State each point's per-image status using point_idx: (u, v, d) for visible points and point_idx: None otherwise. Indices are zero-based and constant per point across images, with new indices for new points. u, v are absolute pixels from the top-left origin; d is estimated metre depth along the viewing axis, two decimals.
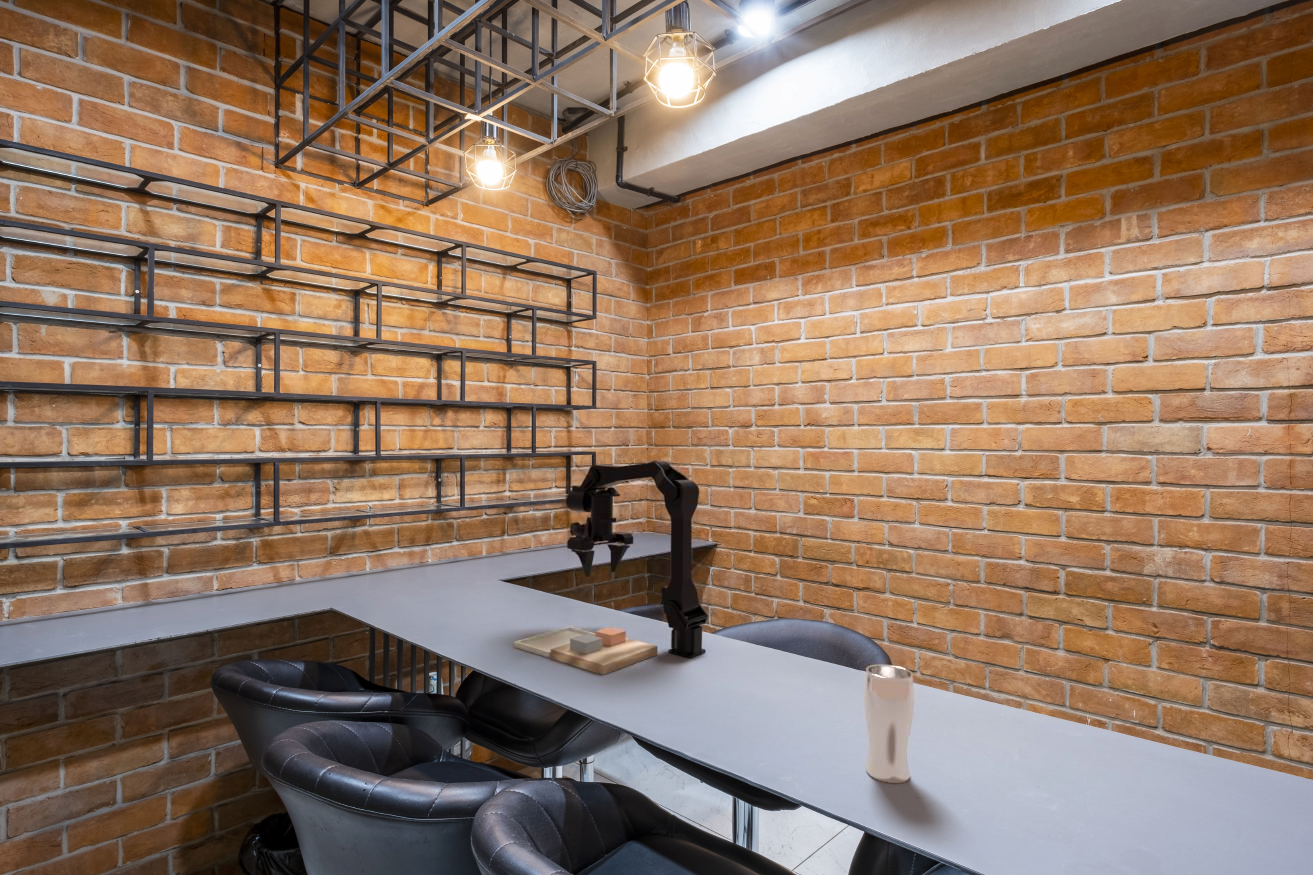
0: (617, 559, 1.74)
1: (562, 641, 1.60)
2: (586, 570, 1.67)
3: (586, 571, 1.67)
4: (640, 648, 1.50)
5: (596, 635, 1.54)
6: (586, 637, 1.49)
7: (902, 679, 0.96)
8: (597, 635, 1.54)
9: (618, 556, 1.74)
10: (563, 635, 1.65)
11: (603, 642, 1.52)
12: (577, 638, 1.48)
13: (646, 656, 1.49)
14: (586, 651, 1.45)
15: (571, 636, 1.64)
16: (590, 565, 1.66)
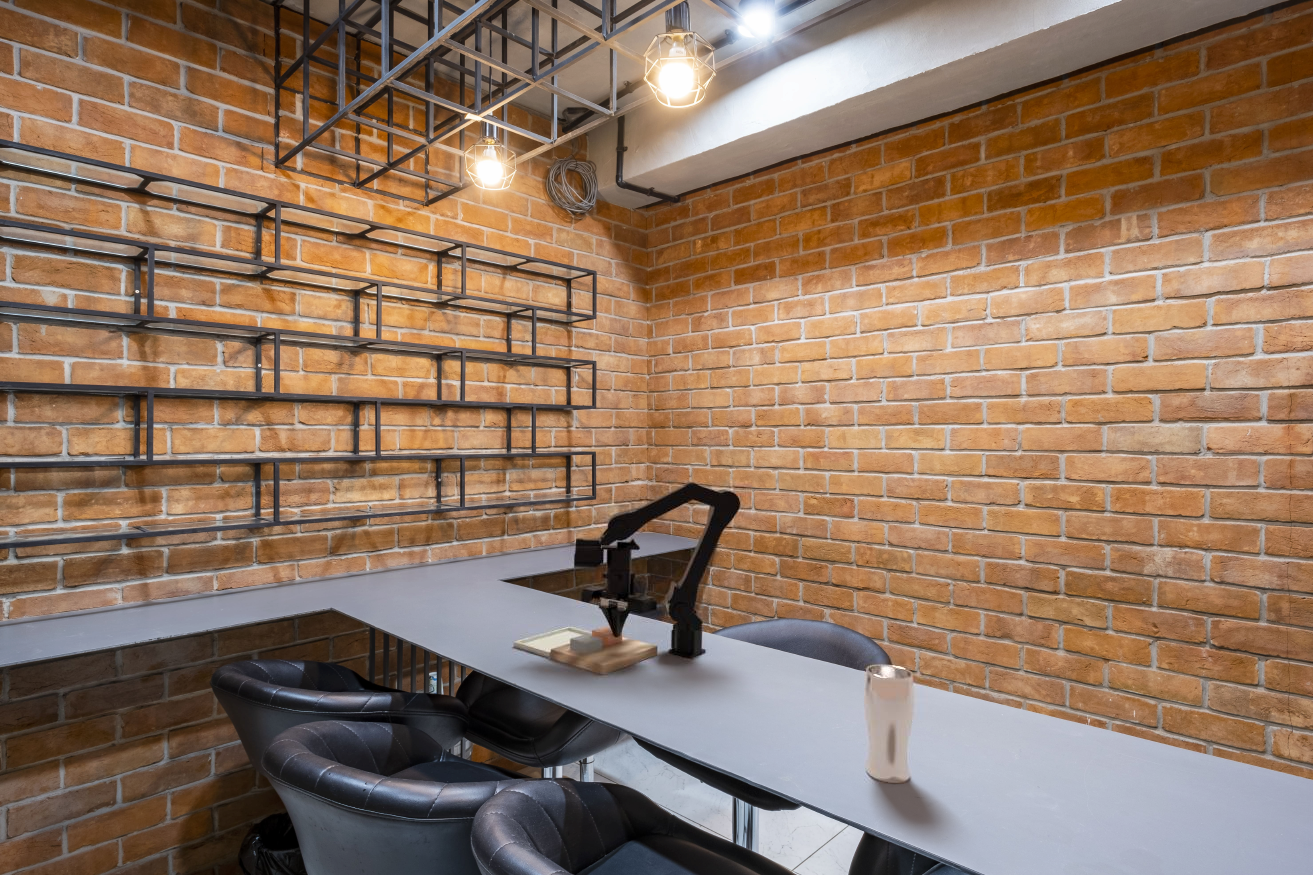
0: None
1: (562, 641, 1.60)
2: None
3: None
4: (640, 648, 1.50)
5: (593, 634, 1.54)
6: (586, 637, 1.49)
7: (902, 679, 0.96)
8: (594, 634, 1.54)
9: None
10: (563, 635, 1.65)
11: None
12: (577, 638, 1.48)
13: (646, 656, 1.49)
14: (586, 651, 1.45)
15: (571, 636, 1.64)
16: (610, 623, 1.52)
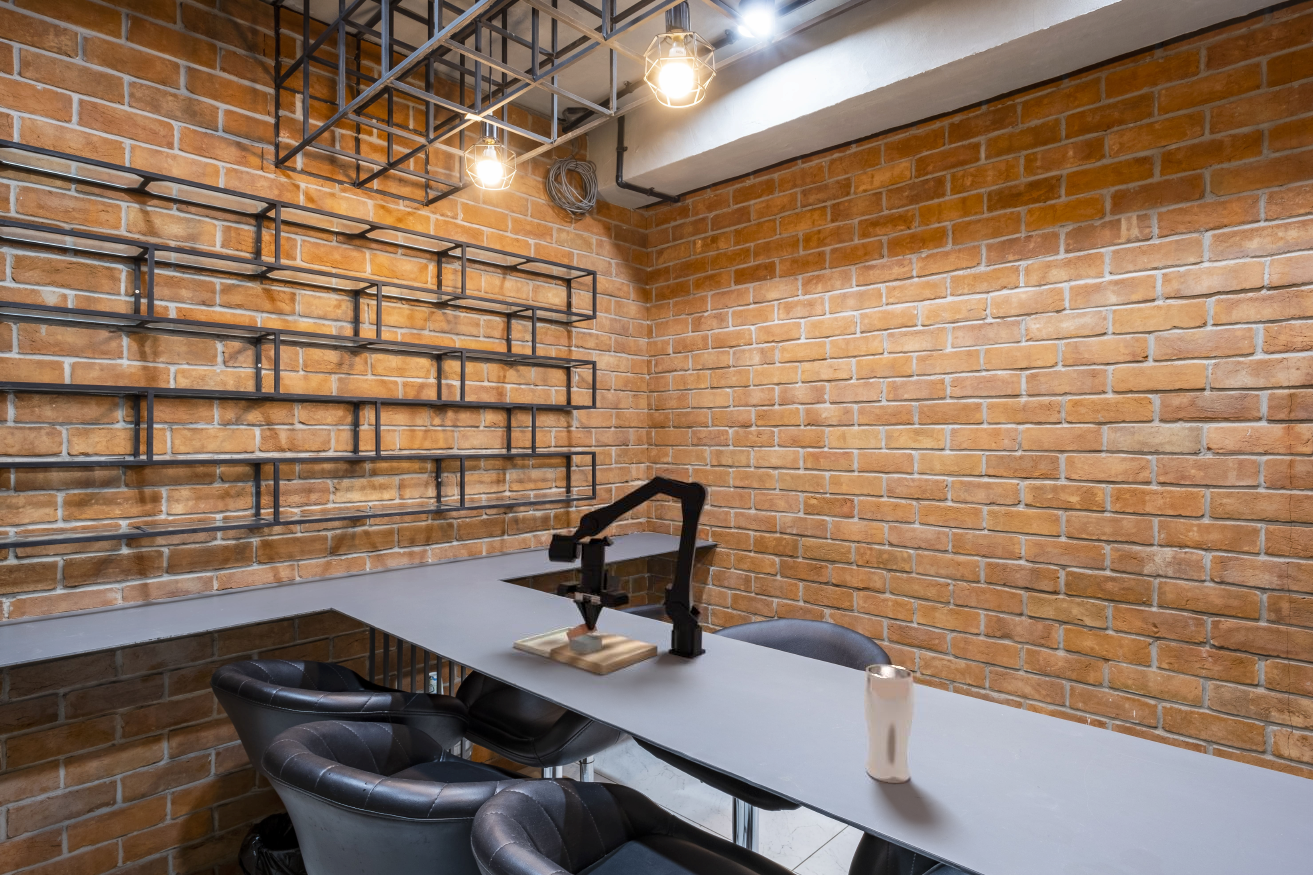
0: None
1: (562, 641, 1.60)
2: None
3: None
4: (640, 648, 1.50)
5: (568, 635, 1.59)
6: (586, 637, 1.49)
7: (902, 679, 0.96)
8: (569, 634, 1.59)
9: None
10: (563, 635, 1.65)
11: (576, 636, 1.57)
12: (577, 638, 1.48)
13: (646, 656, 1.49)
14: (586, 651, 1.45)
15: None
16: (584, 617, 1.58)
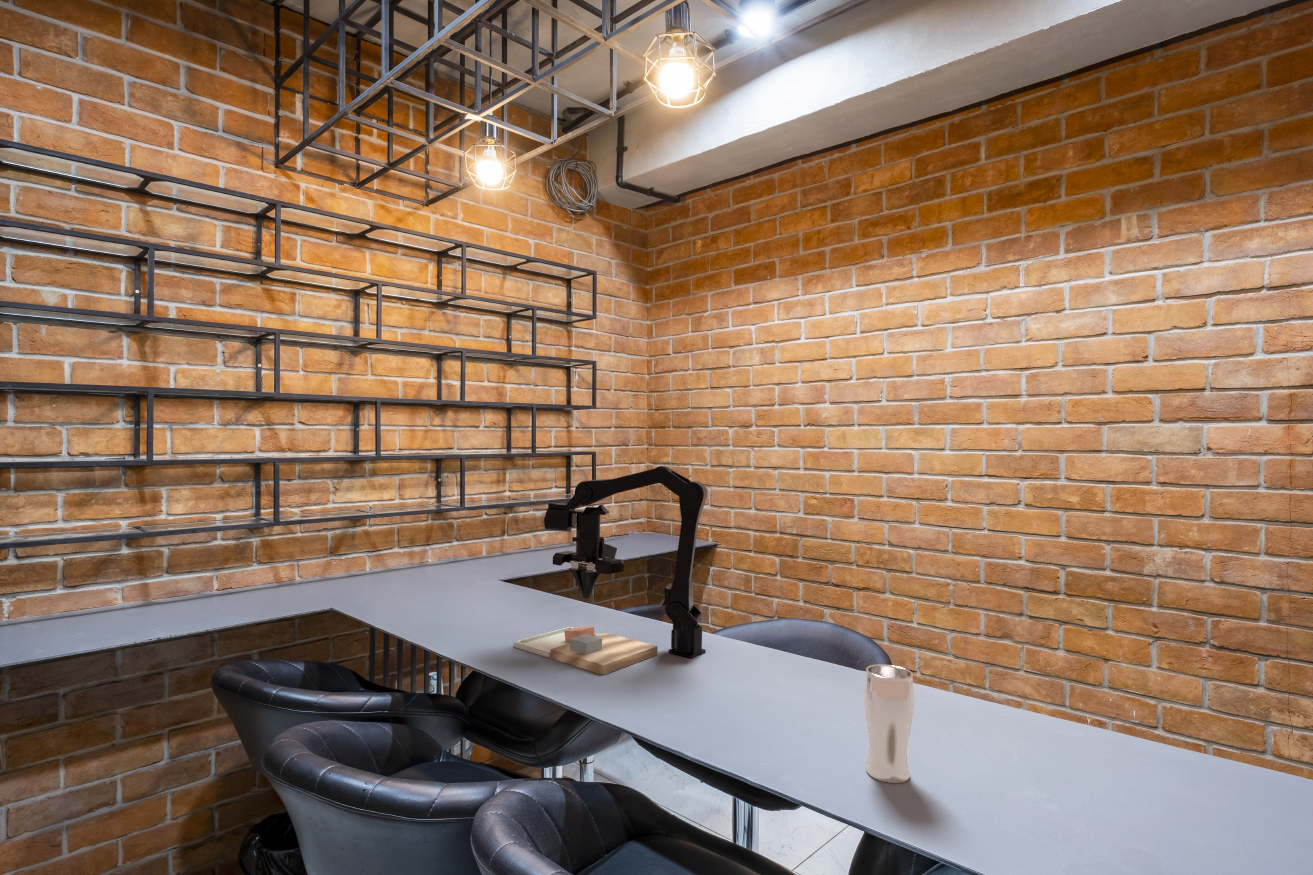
0: None
1: (562, 641, 1.60)
2: None
3: None
4: (640, 648, 1.50)
5: (566, 634, 1.60)
6: (586, 637, 1.49)
7: (902, 679, 0.96)
8: (566, 634, 1.59)
9: None
10: (563, 635, 1.65)
11: None
12: (577, 638, 1.48)
13: (646, 656, 1.49)
14: (586, 651, 1.45)
15: None
16: (579, 585, 1.59)
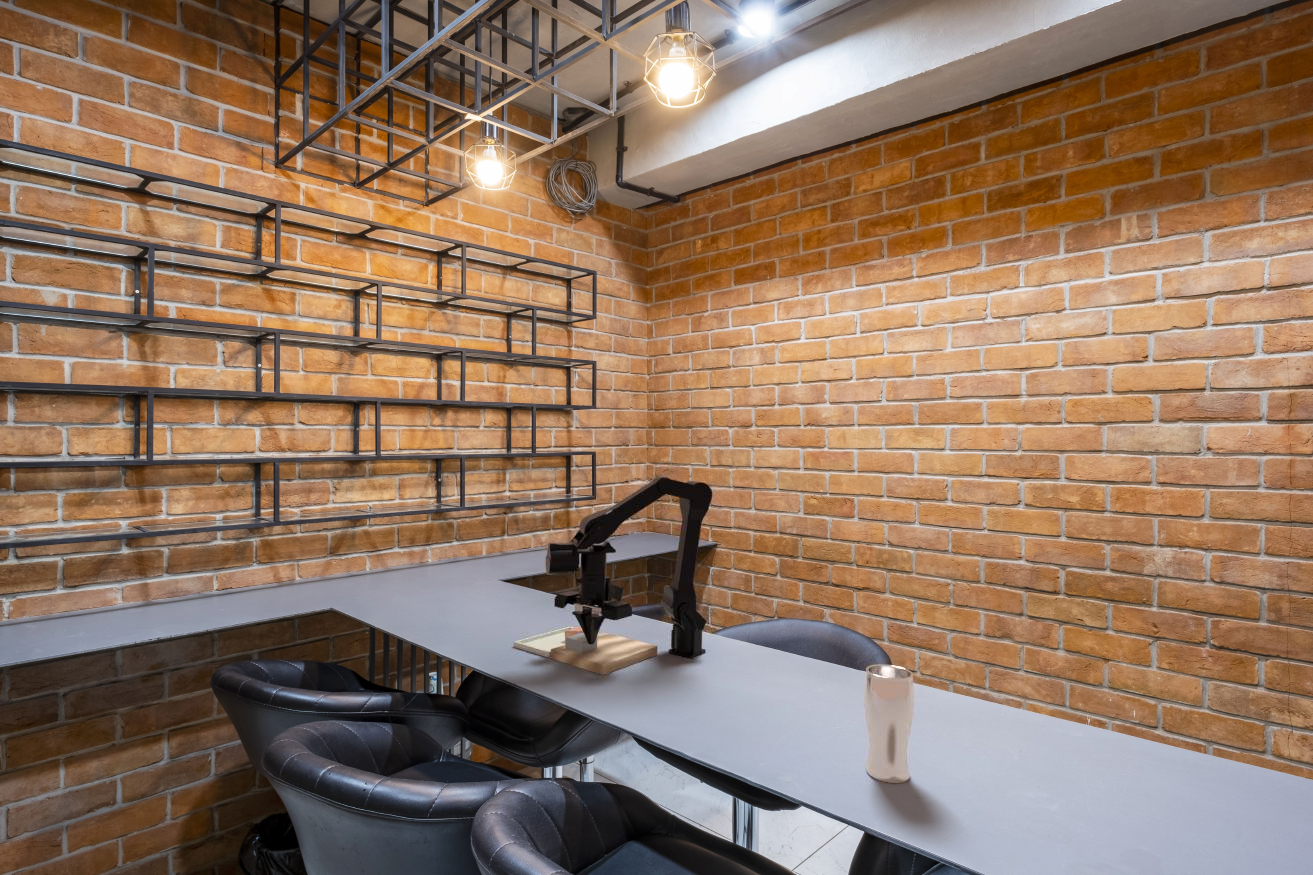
0: None
1: (562, 641, 1.60)
2: None
3: None
4: (640, 648, 1.50)
5: (566, 634, 1.60)
6: (581, 636, 1.50)
7: (902, 679, 0.96)
8: (566, 634, 1.59)
9: None
10: (563, 635, 1.65)
11: None
12: (572, 637, 1.49)
13: (646, 656, 1.49)
14: (581, 650, 1.46)
15: None
16: (584, 630, 1.46)
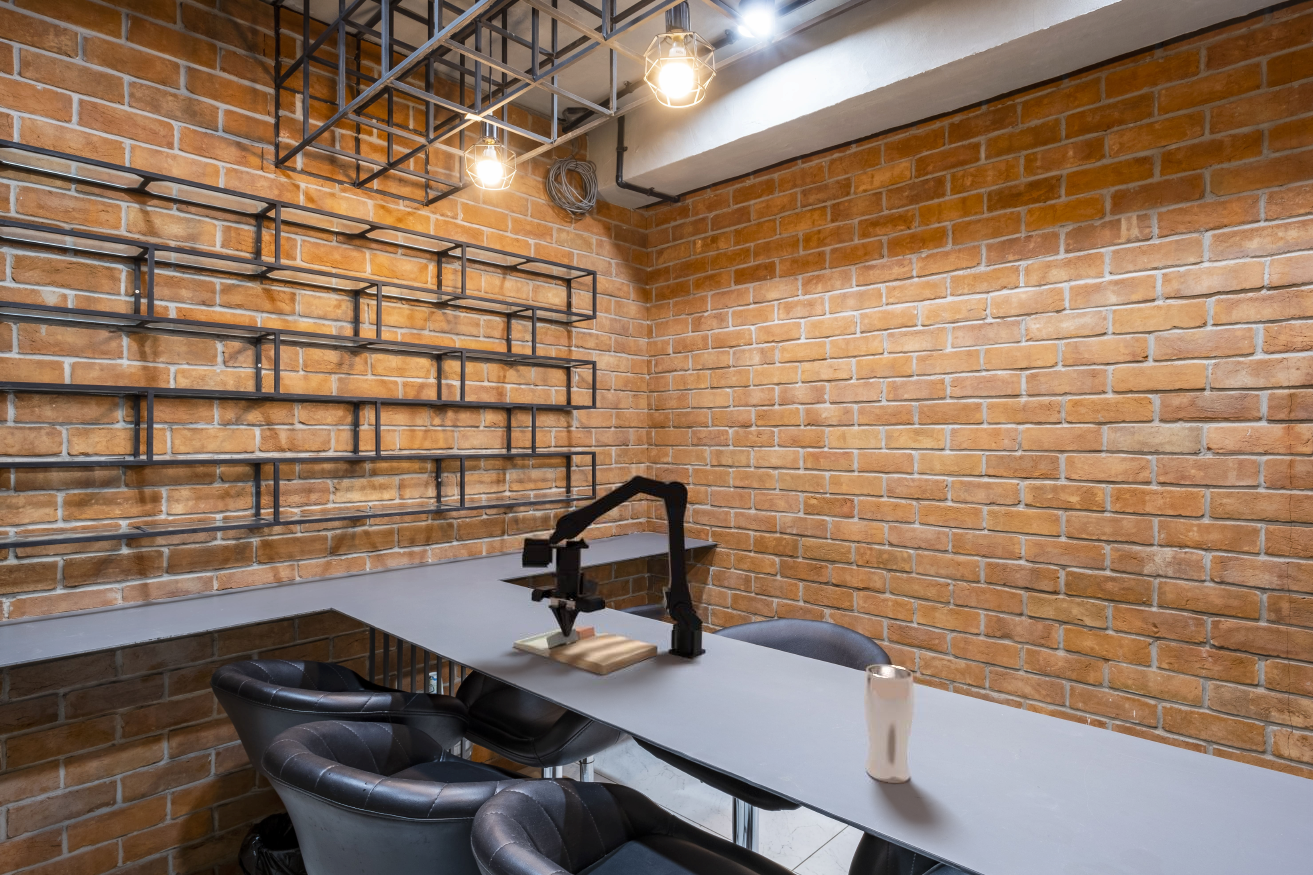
0: None
1: None
2: None
3: None
4: (640, 648, 1.50)
5: None
6: None
7: (902, 679, 0.96)
8: None
9: None
10: None
11: None
12: None
13: (646, 656, 1.49)
14: (560, 640, 1.51)
15: None
16: (559, 623, 1.51)
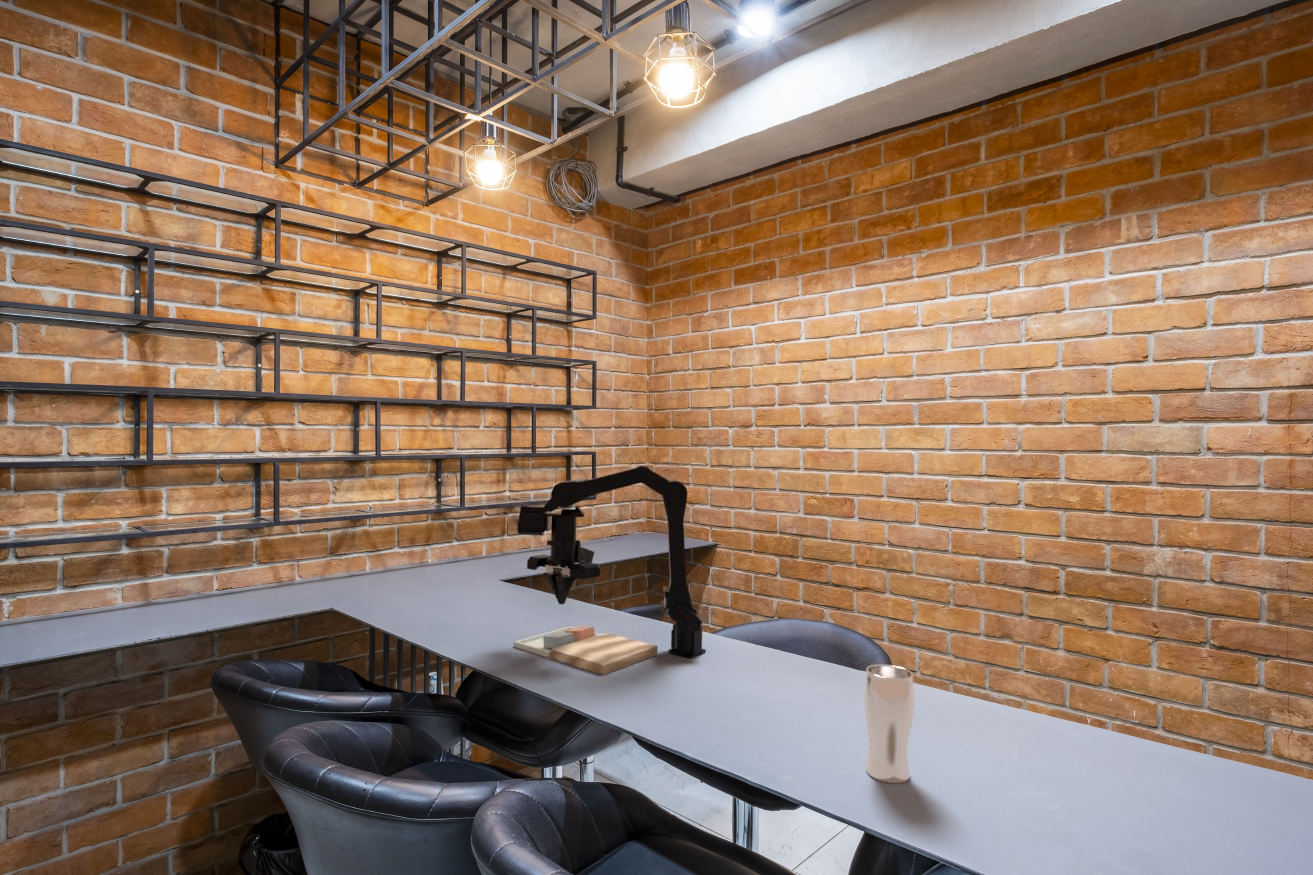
0: None
1: None
2: None
3: None
4: (640, 648, 1.50)
5: None
6: (558, 634, 1.55)
7: (902, 679, 0.96)
8: None
9: None
10: None
11: None
12: (550, 635, 1.55)
13: (646, 656, 1.49)
14: (557, 645, 1.51)
15: None
16: (554, 590, 1.53)
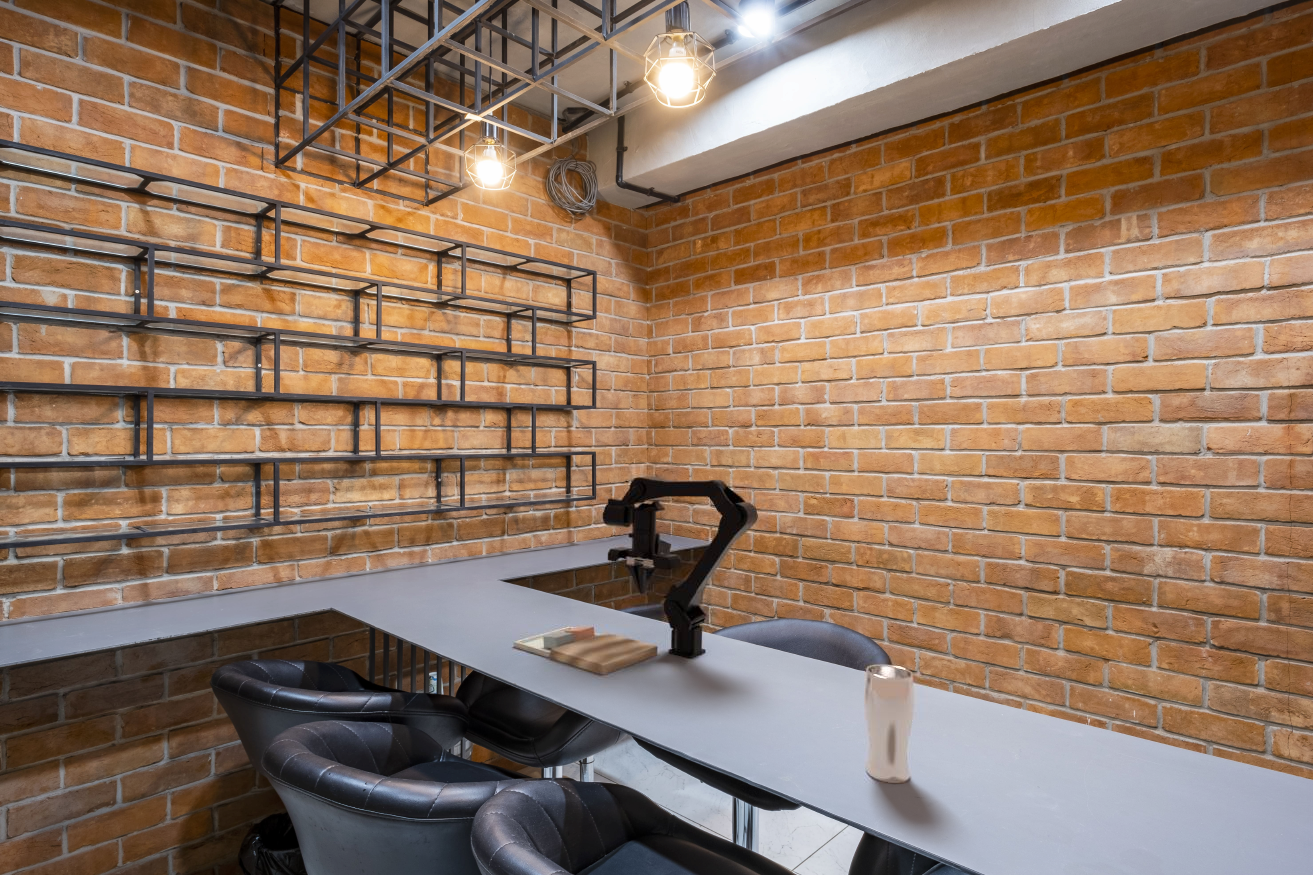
0: None
1: None
2: None
3: None
4: (640, 648, 1.50)
5: None
6: (558, 634, 1.55)
7: (902, 679, 0.96)
8: None
9: None
10: None
11: None
12: (550, 635, 1.55)
13: (646, 656, 1.49)
14: (557, 645, 1.51)
15: None
16: (635, 581, 1.60)
